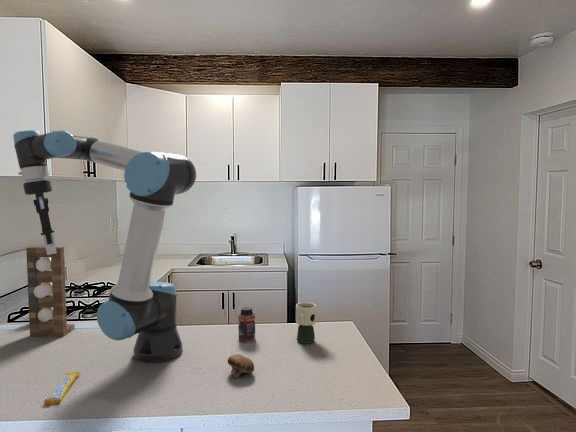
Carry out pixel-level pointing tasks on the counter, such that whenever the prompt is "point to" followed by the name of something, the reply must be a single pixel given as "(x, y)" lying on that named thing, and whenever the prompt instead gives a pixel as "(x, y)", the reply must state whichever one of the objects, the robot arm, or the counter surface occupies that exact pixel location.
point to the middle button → (43, 290)
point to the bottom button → (45, 314)
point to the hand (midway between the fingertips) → (51, 253)
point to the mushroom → (240, 364)
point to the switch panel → (55, 301)
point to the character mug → (305, 322)
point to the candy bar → (62, 388)
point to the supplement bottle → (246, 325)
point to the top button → (44, 264)
